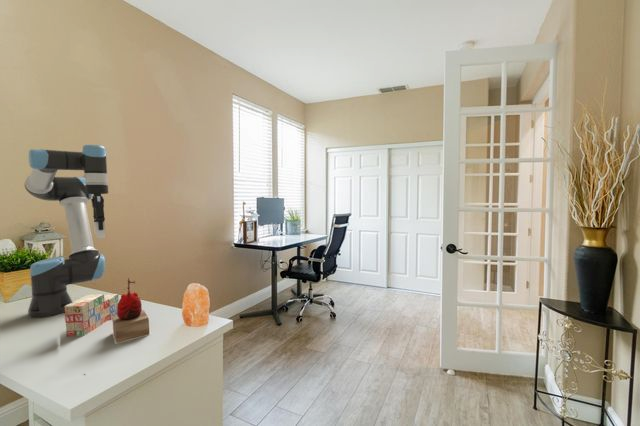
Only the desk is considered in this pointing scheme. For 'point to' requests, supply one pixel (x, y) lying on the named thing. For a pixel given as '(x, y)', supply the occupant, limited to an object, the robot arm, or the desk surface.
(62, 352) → the desk surface
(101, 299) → the stack of blocks
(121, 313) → the red clay folk toy
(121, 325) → the plinth
